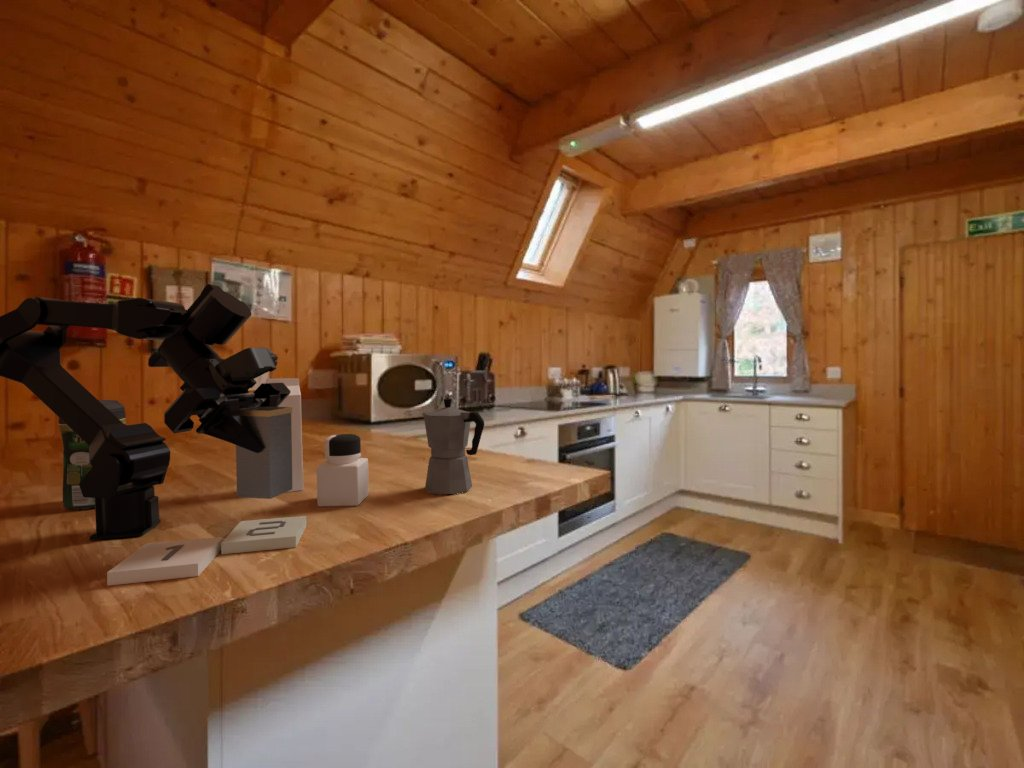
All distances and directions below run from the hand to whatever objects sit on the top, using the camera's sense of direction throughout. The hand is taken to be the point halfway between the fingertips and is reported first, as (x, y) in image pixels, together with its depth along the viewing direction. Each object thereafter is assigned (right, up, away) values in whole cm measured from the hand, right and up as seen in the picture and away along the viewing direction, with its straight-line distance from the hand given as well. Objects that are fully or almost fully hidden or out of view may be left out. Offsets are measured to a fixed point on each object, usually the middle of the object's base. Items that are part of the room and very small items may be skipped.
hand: (273, 447), depth 67 cm
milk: (-12, -12, +28) cm, 33 cm away
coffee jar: (-41, -13, +19) cm, 47 cm away
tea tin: (-1, -7, +1) cm, 7 cm away
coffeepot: (+22, -12, +27) cm, 36 cm away
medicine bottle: (+3, -12, +20) cm, 23 cm away
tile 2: (-1, -13, +1) cm, 13 cm away
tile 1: (-9, -13, -8) cm, 18 cm away
